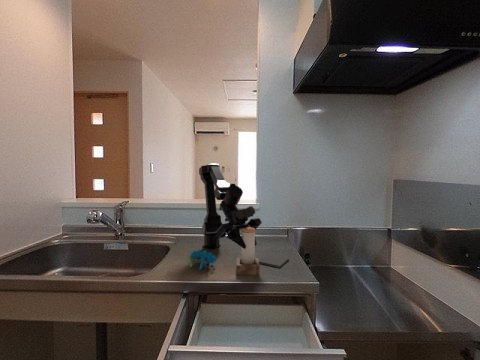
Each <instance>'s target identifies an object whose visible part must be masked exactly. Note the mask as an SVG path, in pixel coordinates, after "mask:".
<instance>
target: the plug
mask: <svg viewBox="0 0 480 360" xmlns="http://www.w3.org/2000/svg"><path fill="white" fill-rule="evenodd" d="M240 235H241V237H242V239H243V241H244V243H245V245H246V248H245V249H244V248H242V247H241V246H240V258H241V264H250V265H254V262H255V258H256V256H255V255H256V254H255V251H256V249H255V248H256V247H255V237H256V230H255V228H252V227H243V228H242V229H241V234H240Z"/></svg>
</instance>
